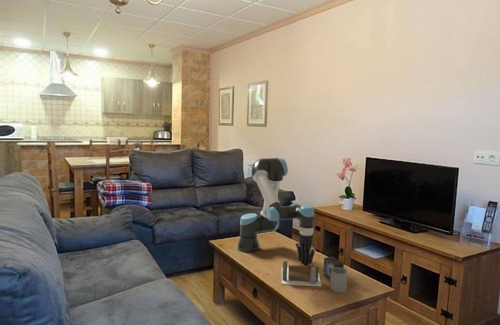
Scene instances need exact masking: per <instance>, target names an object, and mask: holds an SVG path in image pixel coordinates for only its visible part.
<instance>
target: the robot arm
mask: <svg viewBox="0 0 500 325" xmlns="http://www.w3.org/2000/svg"><path fill="white" fill-rule="evenodd" d="M251 167H252V168H251V176H252V179H253V181H255V183H256V184H257V187H258V188H259V190H260V193H261V195H262V197H263V200H264V201H263V207H262V210H261V211H260V214H259V215H258V214H256V213H250V212H249V213H246V214H245V213H244V214H242V216H241V217H240V220H239V221H240V222H239V228H240V229H239V239H238V242H237V250H238V251H240V252H245V253H253V252H257V251H259V250H260V248H261V247H260V242H259V239H258V233H266V232H274V231H276V230H278V229H279V226H280V221H286V220H298V221H299V232H298V233H299V235H298V240H299V241H298V242H296V243H295V246H296V250H297V258H298V261H299V262H300V263H301V265H308V266H310V265H311V264H312V262H313V259H314V256H315V252H317V249H316V248H315V247H314V246H313V245H314V244H313V241H314V228H315V227H314V226H315V224H314V223H315V208H314V206H312V205H308V204H303V205H300V204H298V203H292V204H290V205H286V206H282V204H281V202H280V200H279V190H280V184H281V181H283V179H284V177H286V176H287V175H288V170H289V169H288V165H287V162H286V159H285V158H282V157H281V158H280V157H275V158H272V157H271V158H270V157H269V158H260V159H257V160H256V161H255V162H254V163H253V165H252V166H251Z"/></svg>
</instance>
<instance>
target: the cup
mask: <svg viewBox="0 0 500 325" xmlns="http://www.w3.org/2000/svg"><path fill="white" fill-rule="evenodd" d="M347 284H348V270H347V269H346V268H341V267H333V268H331V280H330V283H329V287H330V289H331V291H333V292H335V293H345V292H347V290H348V289H347V288H348V287H347Z"/></svg>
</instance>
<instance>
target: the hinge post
mask: <svg viewBox="0 0 500 325" xmlns="http://www.w3.org/2000/svg"><path fill="white" fill-rule="evenodd" d="M282 267H283V278H282V277H281V281H282V280H283V281H286V280H287V267H288V261H287V260H283V261H282Z"/></svg>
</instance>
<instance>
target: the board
mask: <svg viewBox="0 0 500 325" xmlns="http://www.w3.org/2000/svg"><path fill="white" fill-rule="evenodd" d="M288 271H289V266H287V280H286V281H283V280H282V278H283V266H281V285H283V286H284V285H287V286H305V287H306V286H310V287H322V283H321V282H322V281H321V278H320V274H319V272H318V282H316V284H310V281H296V280H288Z"/></svg>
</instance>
